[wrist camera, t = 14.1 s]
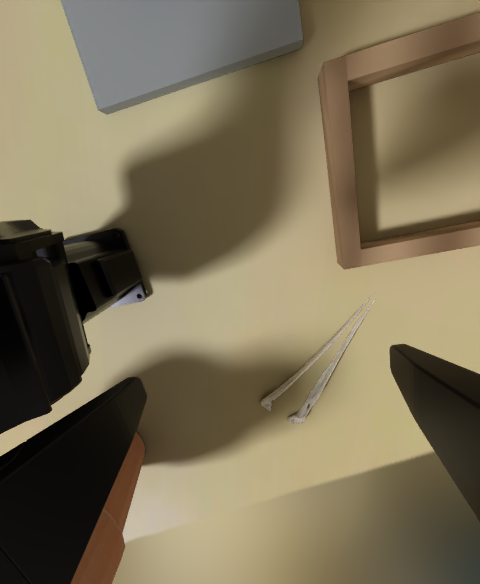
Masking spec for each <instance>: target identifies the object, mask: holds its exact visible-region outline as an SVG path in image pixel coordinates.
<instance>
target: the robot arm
mask: <svg viewBox="0 0 480 584" xmlns="http://www.w3.org/2000/svg"><path fill="white" fill-rule="evenodd" d="M117 232H118V233H119V235H120V236H119V237H118V236H117V234H116V233H117ZM139 294H141V295H142V297H140V296H139ZM146 297H147V294H146V291H145V288H144V285H143V283H142V276H141V274H140V271H139V268H138V265H137V262H136V260H135V257H134V254H133V252H132V251H131V249H130V246H129V244H128V241H127V238H126V235H125V233H124V231H123V230H122V229H120V228H115V229H111V230H107V231H103V232H99V233H95V234H91V235H86V236H82V237H78V238H74V239H70V240H66V241H64V237H63V233H62V232H51V230H47V229H42V228H39V227H38V226H37V225H36V224H35V223H34V222H32V221H31V220H14V221H1V222H0V434H1V433H3V432H5V431H7V430H9V429H11V428H13V427H15V426H17V425H20V424H22V423H24V422H26V421H29V420H31V419H34V418H37V417H40V416H43V415H45V414H48V413H50V412H51V411H52V407H51V405H52V404H54V403H55V402H57V401H58V400H60V399H61V398H62V397H63V396H65V395H66V394H68V393H69V392H71V391H72V390H73V389H74V388H75V387H76V386H77V385H79V383H80V382H81V381H82V377H81V375H82V374H83V373H84V371H85V370H86V368H87V367H88V365H89V357H90V356H89V355H90V353H91V348H90V345H89V344H88V343H87V338H86V334H85V330H84V326H83V324H84V323H86V322H87V321H89V320H90V319H92V318H93V317H95V316H96V315H98V314H99V313H101V312H102V311H104V310H105V309H107V308H109V307H114V306H120V305H125V304H131V303H136V302H142V301H144V300H145V299H146ZM390 368H391V372H392V375H393V377H394V379H395V381H396V383H397V385H398V387H399V389H400V391H401V393H402V395H403V397H404V399H405V401H406V403H407V405H408V407H409V409H410V411H411V413H412V415H413V417H414V419H415V421H416V422H417V424H418V426H419V427H420V429H421V430H422V432H423V434H424V435H425V437H426V438H427V440H428V441H429V443H430V445H431V446H432V448H433V449H434V451H435V452H436V454H437V456H438V457H439V459H440V460H441V462H442V463H443V465H444V467H445V468H446V470H447V471H448V473H449V475H450V476H451V478H452V479H453V481H454V482H455V484H456V486H457V487H458V489H459V490H460V492H461V493H462V495H463V496H464V498H465V500H466V501H467V503H468V504H469V506H470V507H471V509H472V511H473V512H474V514H475V515H476V517H477V519H478V520H479V522H480V374H478V373H476V372H473V371H471V370H468V369H466V368H463V367H461V366H458V365H456V364H453V363H451V362H448V361H446V360H443V359H441V358H438V357H436V356H434V355H431V354H429V353H426V352H424V351H421V350H419V349H416V348H414V347H411V346H409V345H406V344H398V345H392V346H391V347H390ZM146 399H147V394H146V391H145V389H144V386H143V384H142V382H141V379H140V378H139V377H129V378H127V379H125V380H123V381H122V382H120V383H118V384H117V385H115V386H114V387H112V388H110V389H109V390H107V391H106V392H104V393H102V394H101V395H99V396H97V397H96V398H94V399H93V400H91V401H89V402H88V403H86V404H85V405H83V406H81V407H80V408H78V409H76V410H75V411H73V412H72V413H70V414H68V415H67V416H65V417H64V418H62V419H60V420H59V421H57V422H55V423H54V424H52V425H51V426H49V427H47V428H46V429H44V430H43V431H41V432H39V433H38V434H36V435H34V436H33V437H31V438H30V439H28V440H27V441H26V442H23V443H21V444H20V445H18V446H17V447H15V448H13V449H12V450H10V451H9V452H7V453H5V454H4V455H2V456H0V584H71V582H72V580H73V577H74V575H75V573H76V571H77V568H78V566H79V564H80V561H81V559H82V557H83V554H84V552H85V550H86V547H87V545H88V543H89V541H90V538H91V536H92V534H93V531H94V529H95V527H96V524H97V522H98V520H99V518H100V515H101V513H102V511H103V508H104V506H105V504H106V501H107V499H108V497H109V494H110V492H111V490H112V488H113V485H114V483H115V481H116V478H117V476H118V474H119V471H120V469H121V467H122V465H123V462H124V460H125V458H126V455H127V453H128V451H129V448H130V446H131V444H132V441H133V439H134V436H135V433H136V430H137V427H138V424H139V421H140V418H141V415H142V412H143V409H144V406H145V403H146Z"/></svg>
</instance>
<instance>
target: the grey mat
mask: <svg viewBox="0 0 480 584" xmlns="http://www.w3.org/2000/svg"><path fill="white" fill-rule="evenodd" d="M61 3H62V6H63V9H64V12H65V14H66V17H67V20H68V23H69V26H70V29H71V32H72V35H73V38H74V41H75V44H76V47H77V50H78V53H79V56H80V58H81V61H82V64H83V67H84V70H85V73H86V76H87V79H88V82H89V85H90V88H91V91H92V94H93V97H94V100H95V102H96V105H97V108H98V110H99V111H101V112H103V113H105V114H110V113H113V112H116V111H119V110H122V109H125V108H128V107H130V106H133V105H136V104H139V103H142V102H145V101H148V100H151V99H154V98H157V97H160V96H163V95H166V94H169V93H172V92H175V91H178V90H181V89H184V88H186V87H189V86H192V85H195V84H198V83H201V82H204V81H207V80H210V79H213V78H216V77H219V76H222V75H225V74H228V73H231V72H234V71H237V70H239V69H242V68H245V67H248V66H251V65H254V64H257V63H260V62H263V61H266V60H269V59H272V58H275V57H278V56H281V55H284V54H287V53H290V52H293V51H295V50H298V49H301V48H302V42H303V33H302V25H301V16H300V8H299V0H61Z"/></svg>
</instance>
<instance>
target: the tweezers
mask: <svg viewBox="0 0 480 584" xmlns="http://www.w3.org/2000/svg"><path fill="white" fill-rule="evenodd" d="M373 295H374V293H373V294H372V295H371V296H370V297H369V298H368V299H367V300H366V302H365V303H364V304H363V305H362V306H361V307H360V308H359V309H358V310H357V311H356V312H355V313H354V314H353V315H352V317H351V318H350V319H349V320H348V321H347V322H346V323H345V325H344V326H343V327H342V328H341V329H340V330H339V331H338V332H337V333H336V334H335V335H334V336H333V337H332V338H331V339H330V340H329V341H328V342H327V343H326V344H325V345H324V346H323V347H322V348H321V349H320V350H319V351H318V352H317V353H316V354H315V355H314V356H313V357H312V358H311V359H310V360H309V361H308V362H307V363H306V364H305V365H304V366H303V367H302V368H301V369H300V370H299V371H298V372H296V373H295V374H294V375H293V376H292V377H290V378H289V379H288V380H287V381H286V382H285V383H283V384H282V385H281V386H280V387H279V388H277V389H276V390H275V391H273V392H272V393H271V394H270V395H268V396H267V397H265V398H264V399H263V400H262V401H261V405H262V407H264V408H265V409H267V410H268V411H271V406H272V403H271V401H272V400H273V401H274V400H275V399H276V398H277V397H278V396H279V395H281V394H282V393H283V392H284V391H285V390H287V389H288V388H289V387H290V386H291V385H292V384H293V383H294V382H295V381H296V380H297V379H298V378H299V377H300V376H301V375H302V374H303V373H304V372H305V371H306V370H307V369H308V368H309V367H310V366H311V365H312V364H313V363H314V362H315V361H316V360H317V359H318V358H319V357H320V356H321V355H322V354H323V353H324V352H325V351H326V350H327V349H328V348H329V347H330V346H331V345H332V344H333V342H334V341H335V340H336V339H337V338H338V337H339V336H340V335H341V334H342V332H343V331H344V330H345V329H346V328H347V327H348V325H349V324H350V323H351V322H352V321H353V319H354V318H355V317H356V316H357V315H358V313H359V312H360V311H361V310H362V308H363V307H364V306H365V305H366V303H367V302H368V301H369V300H370V298H371V297H372V296H373ZM375 300H376V299H375ZM375 300H374V301H373V302H372V304H371V305H370V306H369V307H368V309H367V310H366V312H365V313H364V314H363V315H362V317H361V318H360V319H359V320H358V321H357V322H356V323H355V325H354V327H353V329H352V331H351V332H350V334H349V335H348V337H347V339H346V341H345V342H344V343H343V345H342V347H341V348H340V350H339V351H338V353H337V354H336V356H335V358H334V359H333V361H332V362H331V363H330V365H329V366H328V368H327V369H326V370H325V371H324V372H323V374H322V375H321V377H320V378H319V380H318V382H317V383H316V385H315V386H314V388H313V389H312V391H311V392H310V394H309V395H308V398H307V399H306V401H305V403H304V404H303V406H302V407H301V409H300V410H299V411H298V412H297V413H296V414H294V415H292V416H289V417H288V419H287V421H288V422H291V423H301V424H302V423H303V422H304V421H305V420H306V416H307V414H308V412H309V411H310V409H311V408H312V406H313V405H314V404H315V402H316V401H317V400H318V398H319V396H320V395H321V393H322V391H323V389H324V387H325V385H326V383H327V382H328V380H329V378H330V376H331V374H332V372H333V370H334V369H335V367H336V365H337V363H338V361H339V359H340V357H341V356H342V354H343V352H344V350H345V349H346V347H347V345H348V344H349V342H350V340H351V339H352V337H353V335H354V333H355V332H356V330H357V328H358V327H359V325H360V324H361V322H362V320H363V319H364V317H365V315H366V314H367V312H368V311H369V309H370V307H371V306H372V305H373V303H374V302H375ZM308 404H310V407H309V409H308V408H307V407H308Z"/></svg>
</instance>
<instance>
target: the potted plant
mask: <svg viewBox="0 0 480 584" xmlns="http://www.w3.org/2000/svg"><path fill="white" fill-rule="evenodd" d="M144 456H145V447H144V443H143V441H142V439H141V438H140V436H139V434H138V433H137V432H136V433H135V436H134V439H133V441H132V444H131V446H130V448H129V451H128V453H127V455H126V458H125V460H124V462H123V465H122V467H121V469H120V471H119V474H118V476H117V478H116V481H115V483H114V485H113V488H112V490H111V492H110V494H109V497H108V499H107V501H106V504H105V506H104V508H103V511H102V513H101V515H100V518H99V520H98V522H97V524H96V527H95V529H94V531H93V534H92V536H91V538H90V541H89V543H88V545H87V547H86V550H85V552H84V554H83V557H82V559H81V561H80V564H79V566H78V568H77V571H76V573H75V575H74V577H73V580H72V582H71V584H112V582H113V579H114V577H115V574H116V571H117V569H118V566H119V563H120V561H121V558H122V555H123V552H124V549H125V543H124V539H123V534H122V532H123V529H124V525H125V522H126V518H127V515H128V511H129V508H130V505H131V501H132V498H133V494H134V491H135V487H136V484H137V480H138V477H139V473H140V470H141V466H142V463H143V459H144Z"/></svg>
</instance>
